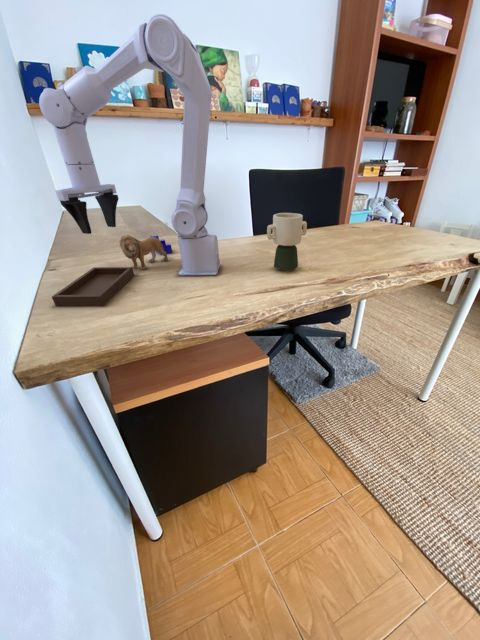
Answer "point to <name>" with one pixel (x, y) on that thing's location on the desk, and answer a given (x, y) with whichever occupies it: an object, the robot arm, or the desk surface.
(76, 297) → the brown rectangular tray
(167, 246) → the cable holder
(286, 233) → the beige and green trophy
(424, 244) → the desk surface
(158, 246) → the lion figurine
